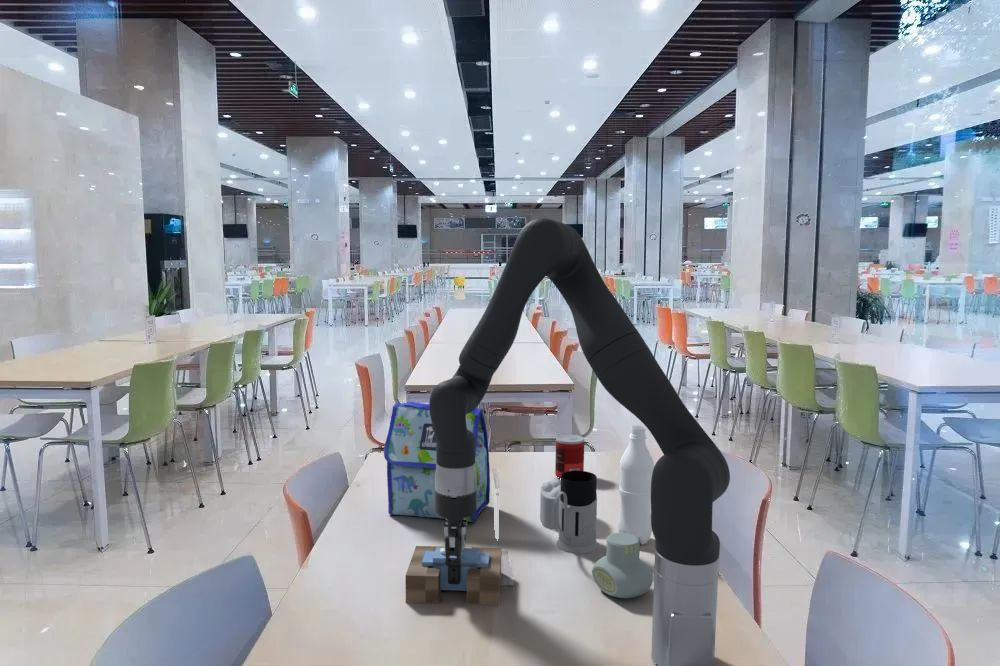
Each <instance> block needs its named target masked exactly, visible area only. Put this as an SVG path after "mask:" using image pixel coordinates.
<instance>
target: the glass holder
mask: <svg viewBox="0 0 1000 666" xmlns="http://www.w3.org/2000/svg"><path fill="white" fill-rule="evenodd" d="M597 477H598V476H597V475H596V474H594V473H593V472H590V471H585V470H584V471H567V472H564V473H562V474H561V491H560V492H559V493H558V494H557V496H556V498H555V501H554V519H555V523H556V527H557V529H558V530H557V531H558V539H557V540H556V546H557V548H559V549H560V550H561V551H563V552H566V553H569V554H575V555H576V554H577V555H582V554H590V553H593V552H595V551H596V550H597V549H598V548H599V543H598V542H597V515H598V513H597V512H598V511H597V510H598V507H597V506H598V495H597V481H598V480H597ZM559 497H560V499H559ZM558 500H559V521H558V515H557V505H558Z"/></svg>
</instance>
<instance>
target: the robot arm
mask: <svg viewBox="0 0 1000 666" xmlns="http://www.w3.org/2000/svg"><path fill="white" fill-rule="evenodd" d="M546 277H547V278H548V279H549V280H550V282H551V283H552V284H553V285H554V286H555V287H556V289H557V291H559V293H560V295H561V296H562V298H563V299H564V301H565V302H566V304H567V305H568V307H569V309H570V312H571V314H572V318H573V322H574V327H575V329H576V335H577V339H578V342H579V346H580V348H581V350H582V351H581V352H582V353H583V355H584V357H585V359H586V361H587V363H588V365H589V367H590V368H591V369H592V371H593V373H594V374H595V376H596V378H597V379H598V381H599V382H600V384H601V385H602V387H603V388H604V390H606V392H607V393H608V395H610V396H611V397H613V399H614V400H616V402H618V403H619V404H620V405H622V406H623V408H625V409H626V410H627V411H628V412H630V413H631V414H632V415H634V416H635V417H636V418H637V419H638V420H639V421H640V422H641V423H642V424H643V426H644V427H645V428H647V430H648V431H649V432H650V434H651V435H652V437H653V438H654V440H655V441H656V444H657V445H658V447H659V449H660V450H661V452H662V454H663V455H662V456H660V458H659V459H658V460H657V461H656V463H655V464H654V469H653V473H652V478H651V506H650V513H651V528H652V532H651V533H652V534H653V537H654V541H655V543H654V544H655V545H654V547H655V548H654V549H655V550H654V566H653V567H654V568H653V569H654V570H653V598H652V621H651V622H652V623H651V654H652V655H651V656H652V657H651V659H652V661H653V662H655V663H656V664H657V665H658V666H715V652H716V630H717V629H716V628H717V608H718V589H719V588H718V586H719V585H718V584H719V570H720V569H719V567H720V565H719V564H720V554H721V553H720V552H721V551H720V550H721V549H720V547H721V543H720V538H719V536H718V534H717V533H716V532H715V531H714V530H713V503H714V502H715V501H717V500H718V499H719V498H720V497H722V496H723V495H724V494H725V492H727V489H728V487H729V486H730V482H731V474H730V473H731V471H730V469H729V464H728V462H727V459H726V458H725V456H724V454H723V453H722V451H721V450H720V449H719V448H718V446H717V445H716V443H715V442H714V441H713V440H712V438H711V437H710V436H709V435H708V433H706V431H705V430H704V428H702V426H701V424H700V423H699V422H698V421H697V420H696V418H695V417H694V415H692V413H691V412H690V410H689V409H688V408H687V406H686V405H685V403H684V402H683V400H682V399H681V398H680V396H679V394H678V393H677V390H676V389H675V387H674V386H673V384H672V383H671V381H670V380H669V378H668V376H667V375H666V374H665V371H663V368H662V367H661V365H660V364H659V363H658V361H657V359H656V358H655V356H654V354H653V352H652V351H651V349H650V348H649V346H648V344H647V343H646V341H645V339H644V338H643V336H641V333H640V332H639V330H638V329H637V328H636V326H635V325H634V324H633V322H632V320H631V319H630V317H629V316H628V314H627V313H626V312H625V310H624V309H623V307H622V306H621V304H620V303H619V301H618V300H617V299H616V297H615V295H614V294H613V293H612V292H611V291H610V289H609V288H608V286H607V285H606V283H605V281H604V280H603V278H602V275H601V274H600V273H599V271H598V268H597V266H596V264H595V262H594V260H593V258H592V256H591V254H590V252H589V250H588V248H587V246H586V244H585V242H584V240H583V238H582V237H581V235H580V234H579V233H578V231H577V230H576V229H575V228H573V227H572V226H570V225H569V224H567V223H564V222H561V221H558V220H555V219H550V218H546V217H539V218H534V219H533V220H530V221H528V222H527V223H526V224H525V225H524V226H523V227H522V228H521V229H520V231H519V233H518V235H517V237H516V240H515V242H514V243H513V246H512V249H511V251H510V253H509V256H508V258H507V261H506V263H505V266H504V269H503V270H502V273H501V276H500V277H499V280H498V283H497V285H496V287H495V290H494V292H493V294H492V296H491V298H490V300H489V303H488V305H487V306H486V309H485V310H484V312H483V314H482V316H481V318H480V319H479V321H478V323H477V325H476V326H475V328H474V329H473V331H472V333H471V334H470V336H469V338H468V339H467V341H466V343H465V344H464V346H463V347H462V350H461V351H460V353H459V356H458V362H459V365H458V368H457V370H456V371H455V373H454V375H453V376H452V377H451V378H449V379H447V380H443V381H440V382H439V383H438V384H436V385H435V386H434V388H433V389H432V391H431V394H430V397H429V402H428V404H429V410H430V416H431V421H432V425H433V430H434V434H435V437H436V441H437V444H436V471H435V511H436V513H437V514H438V515H439V516H441V517H445V518H447V519H445V523H444V525H443V535H444V547H445V551H446V561H445V564H446V566H448V583H449V584H457V585H458V584H460V581H461V563H462V560H461V552H462V551H463V550H464V548H466V546H465V545H466V544H465V542H466V540H467V529H468V522H467V519H465V517H469V516H471V515H473V514H474V513H475V512H476V494H477V475H476V467H475V438H474V435H473V433H472V432H471V431H469V430H467V425H466V414H468V413H470V412H472V411H473V410H474V409H476V408H478V406H479V405H480V404H481V402H482V401H483V400H484V397H485V395H486V394H487V391H488V388H489V387H490V383H491V381H492V378H493V376H494V374H495V373H496V371H497V370H498V369H499V367H500V365H501V364H502V363H503V361H504V359H505V358H506V356H507V355H508V353H509V351H510V349H511V348H512V346H513V344H514V342H515V340H516V337H517V334H518V331H519V327H520V323H521V319H522V315H523V312H524V311H525V306H526V305H527V303H528V300H529V299H530V297H531V296H532V294H533V293H534V291H535V290H536V288H537V287H538V286H539V285H540V283H542V281H543V280H544V279H545V278H546ZM450 556H456V557H457V558H450ZM655 663H654V664H655ZM656 664H655V665H656ZM657 665H656V666H657Z"/></svg>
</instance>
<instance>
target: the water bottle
mask: <svg viewBox="0 0 1000 666" xmlns="http://www.w3.org/2000/svg"><path fill="white" fill-rule="evenodd" d="M646 440H647V435H646V426H645V425H638V424H634V425H631V426H630V434H629V443H628V446H627V447H626V449H625V450H624V452H623V454H622V456H621V458H620V462H619V486H618V491H619V496H620V511H619V516H618V520H617V530H618V532H617V533H628V534H632V535H634V536H636V537H637V538H638V539H639V540H640V545H646V544H647V543H648V542H649V540H650V538H651V536H652V533H653V532H652V528H651V478H652V473H653V469H654V466H655V464H654V460H653V456H652V455H651V453H650V450H649V448H648V447H647V444H646Z"/></svg>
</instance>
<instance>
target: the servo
mask: <svg viewBox="0 0 1000 666" xmlns="http://www.w3.org/2000/svg"><path fill="white" fill-rule="evenodd" d="M443 547H444V546H443ZM443 547H436V550H435V551H425V554H424V557H423V560H422V566H433V568H440V591H463V592H464V591H465V592H467V573H468V569H479V567H488V565H489V557H490V553H479V548H472V547H469V548H468V547H464V550H463V551H462V552H461V560H462V563H461V581H460V584H458V585H457V584H449V583H448V566H446V564H445V561H446V551H445V548H443ZM450 558H457V557H456V556H450Z"/></svg>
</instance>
